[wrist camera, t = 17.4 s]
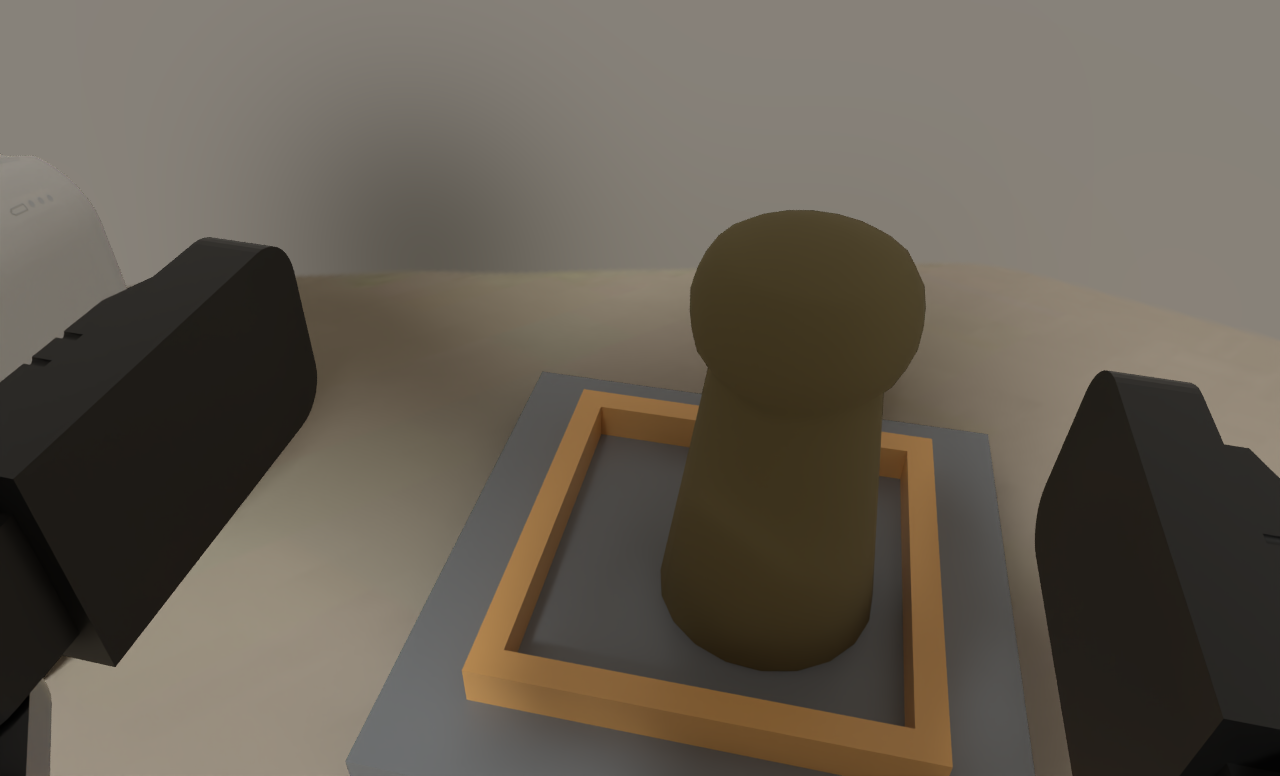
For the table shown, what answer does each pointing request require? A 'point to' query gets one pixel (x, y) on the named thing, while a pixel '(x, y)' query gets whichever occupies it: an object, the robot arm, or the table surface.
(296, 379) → the robot arm
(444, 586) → the socket plate
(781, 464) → the cork
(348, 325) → the table surface
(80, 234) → the photo printer
